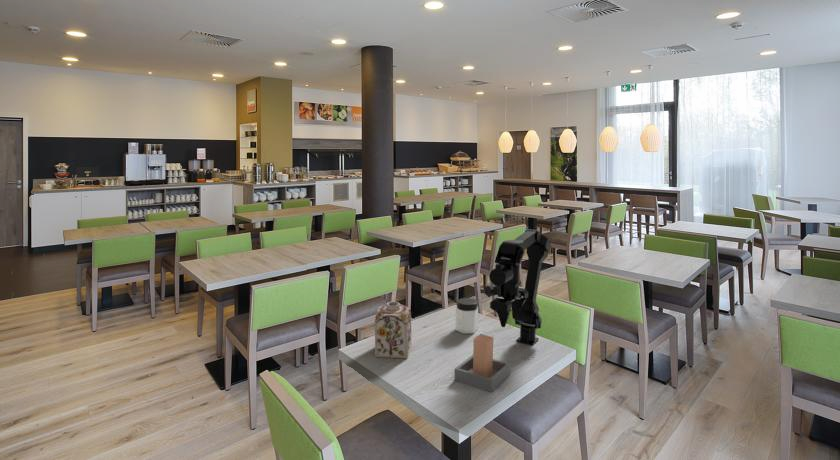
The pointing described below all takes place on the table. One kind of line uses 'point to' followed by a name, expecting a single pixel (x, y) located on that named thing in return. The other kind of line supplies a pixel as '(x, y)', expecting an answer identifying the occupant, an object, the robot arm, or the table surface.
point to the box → (487, 383)
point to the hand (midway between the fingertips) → (508, 322)
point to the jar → (466, 316)
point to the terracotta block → (483, 355)
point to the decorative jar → (393, 331)
